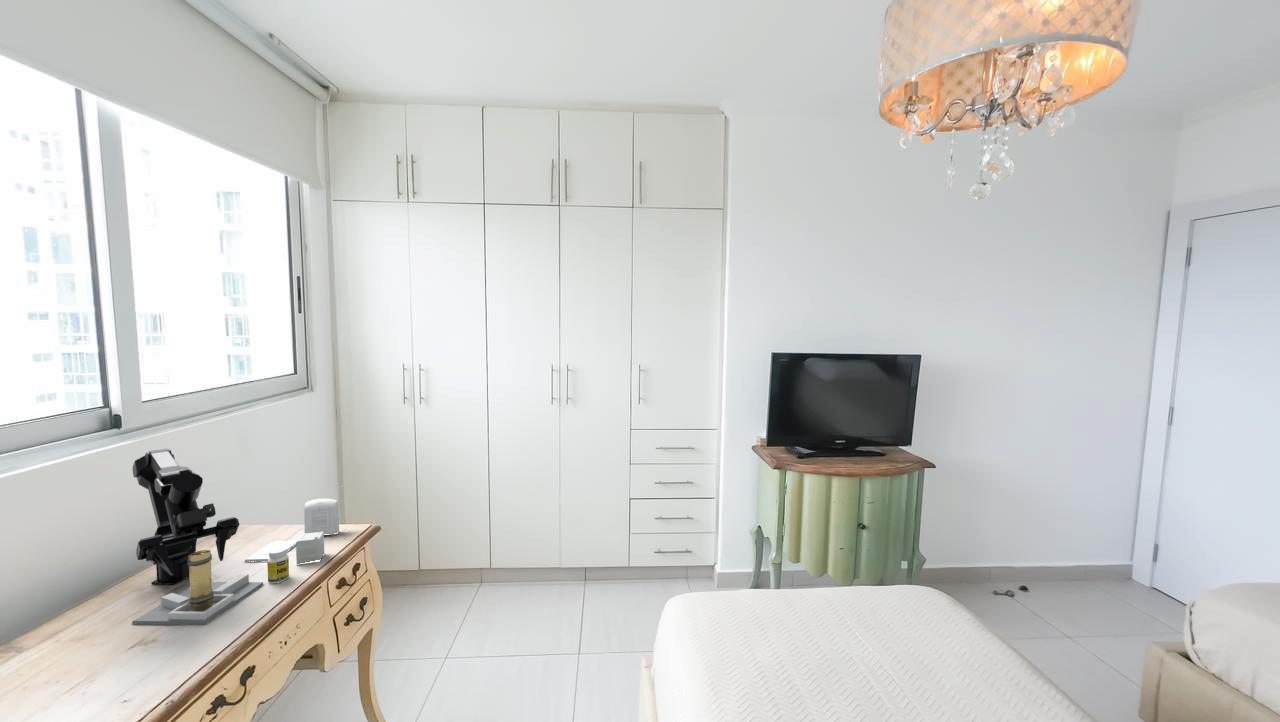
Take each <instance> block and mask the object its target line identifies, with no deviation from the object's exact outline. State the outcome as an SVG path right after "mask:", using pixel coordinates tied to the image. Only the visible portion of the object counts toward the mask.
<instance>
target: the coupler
mask: <svg viewBox="0 0 1280 722" xmlns="http://www.w3.org/2000/svg"><path fill="white" fill-rule="evenodd" d="M212 555H213V554H212V553H211V550H210V549H202V550H198V551H197V550H196V551H195V552H194V553H191V554H190V555H189V556H188V557H189V559H188V565H189V577H188V578H189V588H190V598H189V601H190V604H191V611H197V612H204V611H206V610H207V609H209V608H210V607H212V606H213V597H214V593H213V591H212V582H213V579H212V578H213V577H212V576H213V575H212V574H213V573H212V560H213V556H212Z"/></svg>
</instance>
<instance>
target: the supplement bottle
mask: <svg viewBox="0 0 1280 722" xmlns="http://www.w3.org/2000/svg"><path fill="white" fill-rule="evenodd" d="M289 560H290V559H289V555H288V552H287V548H285V547H280V548H275V549H272V550H271V551H269V559H268V561H267V562H266V563H267V566H266V567H267V582H268V583H269V584H279V583H278V582H280V583H282V582H281V581H283V582H285V581H286V580H288V579H289V578H290V566H289V565H290V564H289V563H290V562H289ZM288 577H289V578H288ZM287 578H288V579H287ZM284 580H285V581H284Z"/></svg>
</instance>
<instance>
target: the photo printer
mask: <svg viewBox="0 0 1280 722" xmlns="http://www.w3.org/2000/svg"><path fill="white" fill-rule="evenodd" d="M339 503H340V502H339V500H338V499H333V498H316V499H312V500H309V501H307V502H305V504H304V507H303V513H304V517H303V518H304V522H303V523H304V534H305V533H315V532H324V534H334V533H337V532H339V533H340V504H339Z"/></svg>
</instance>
